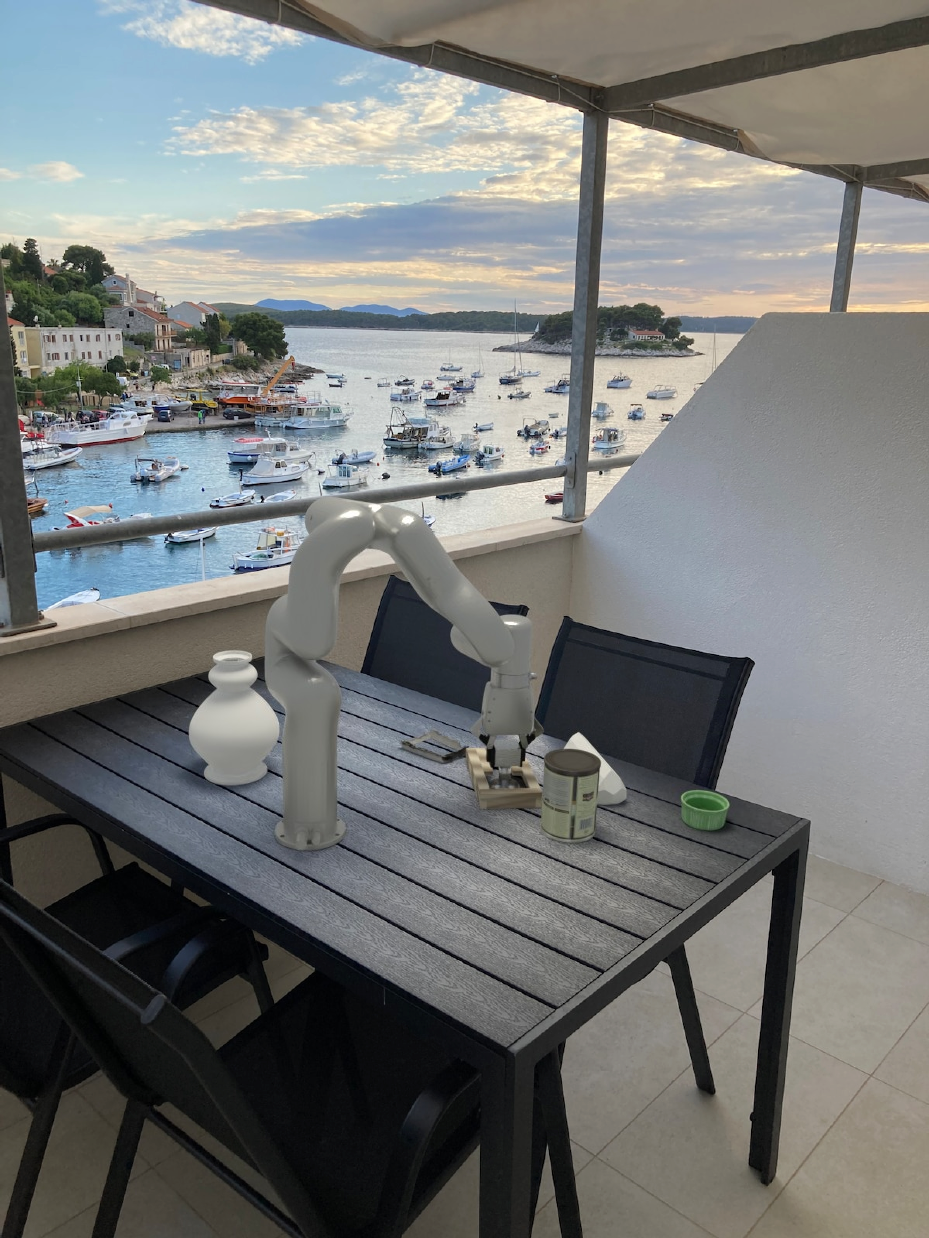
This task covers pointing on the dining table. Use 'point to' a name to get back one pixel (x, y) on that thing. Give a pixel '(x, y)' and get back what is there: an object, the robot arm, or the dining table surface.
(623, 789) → the crystal
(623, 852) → the dining table surface
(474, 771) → the keyhole plate
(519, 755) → the keyhole peg
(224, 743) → the decorative vase
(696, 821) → the ramekin
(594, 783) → the coffee can
